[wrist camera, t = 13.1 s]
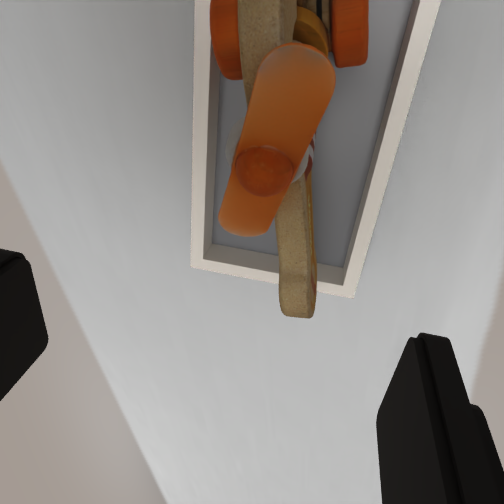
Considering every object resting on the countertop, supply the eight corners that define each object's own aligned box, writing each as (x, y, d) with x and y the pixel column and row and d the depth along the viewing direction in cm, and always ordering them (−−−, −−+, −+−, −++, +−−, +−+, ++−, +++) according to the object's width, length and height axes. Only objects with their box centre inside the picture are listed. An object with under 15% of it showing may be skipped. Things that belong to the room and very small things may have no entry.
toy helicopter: (367, -60, 22) (393, -135, 10) (362, 265, 32) (371, 409, 20) (222, -34, 24) (105, -73, 12) (261, 265, 34) (218, 397, 22)
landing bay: (215, -97, 23) (196, -113, 20) (450, -77, 21) (467, -90, 18) (203, 245, 35) (190, 267, 32) (352, 273, 34) (353, 298, 31)
